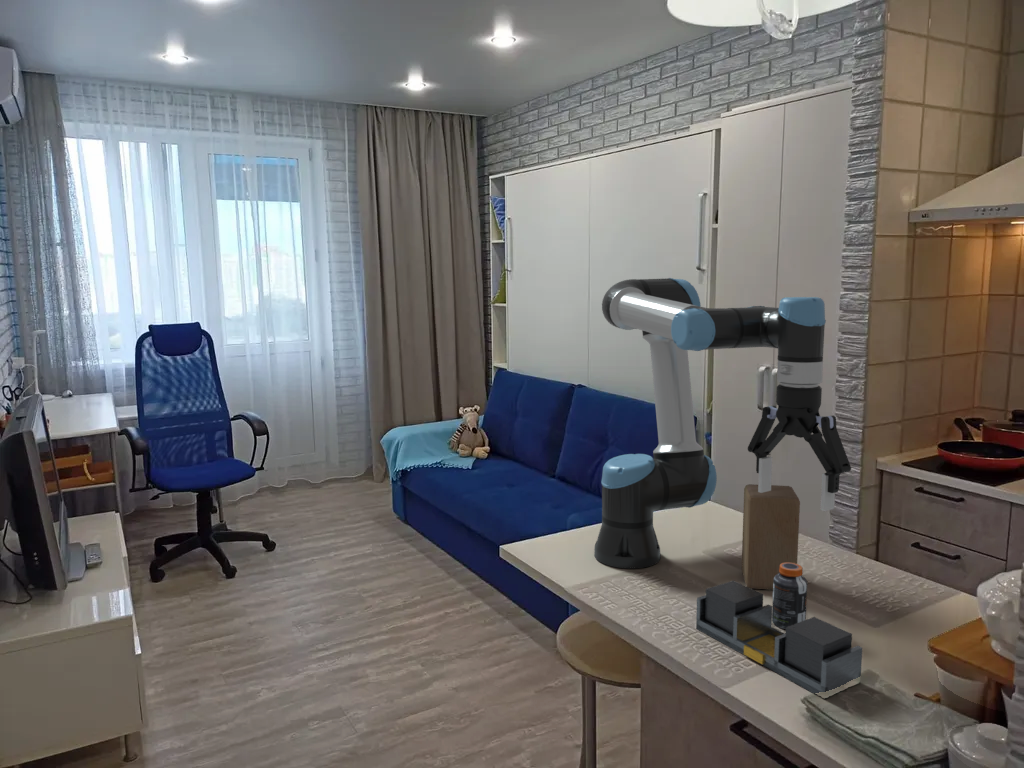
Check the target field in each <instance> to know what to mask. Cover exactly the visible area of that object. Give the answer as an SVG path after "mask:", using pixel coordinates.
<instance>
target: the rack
mask: <svg viewBox="0 0 1024 768" xmlns="http://www.w3.org/2000/svg"><path fill="white" fill-rule="evenodd" d="M772 606H773V605H771V604H764V594H763V593H761V592H760V591H758V590H755V589H754V588H749V587H747V586H746V585H744V584H742V583H740V582H737V581H735V580H731V581H728V582H725V583H724V582H723V583H721V584H718V585H715V586H711V587H708V588H706V589H705V595H703V596H702V595H701V596H699V597H697V598H696V618H695V619H696V620H695V621H696V622H695V623H696V624H695V625H696V626H695V628H696V630H698V631H699V632H702V633H703V634H705V635H706V636H708V637H710V638H712V639H714V640H715V641H718V642H719V643H721V644H723V645H724V646H726V647H728V648H730V649H732V650H734V651H736V652H738V653H739V654H741V655H743V656H745V657H747V658H748V659H750V660H752V661H754V662H756V663H758V664H759V665H762V666H763V667H765V668H767V669H769V670H770V671H772V672H774V673H776V674H777V675H779V676H781V677H783V678H784V679H786V680H788V681H790V682H792V683H794V684H795V685H797V686H799V687H800V688H803V689H805V690H806V691H808V692H809V693H812V694H813V693H819V692H826V691H829V690H832V689H835V688H837V687H840V686H841V685H844V684H846V683H847V682H849V681H851V680H853V679H856V678H858V677H860V676H861V677H862V662H863V647H862V646H859V645H857V646H853V647H852V644H853V643H852V642H853V633H851V632H849V631H847V630H844V629H842V628H840V627H838V626H835V625H833V624H831V623H829V622H826V621H824V620H822V619H821V618H817V617H815V616H813V617H811V618H806V620H804V621H802V622H799V623H796V624H794V625H791V626H788V627H786V629H785V633H784V632H781V631H780V630H778V629H776V628H774V627H772V623H773V621H772Z"/></svg>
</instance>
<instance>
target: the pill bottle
mask: <svg viewBox="0 0 1024 768" xmlns="http://www.w3.org/2000/svg"><path fill="white" fill-rule="evenodd" d="M779 572H780V573H778V574H777V575H775V577H774V580H773V590H772V605H771V606H772V623H773V625H775V626H776V627H778V628H781V629H785V630H786V627H788V626H791V625H794V624H796V623H799V622H802V621H804V620H807V604H808V603H807V602H808V601H807V600H808V581H807V579H806V578H805V577H804V576H803V573H804V572H803V566H801V564H799V563H797V564H795V563H781V564H780V568H779Z"/></svg>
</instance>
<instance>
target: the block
mask: <svg viewBox="0 0 1024 768" xmlns="http://www.w3.org/2000/svg"><path fill="white" fill-rule="evenodd" d="M800 506H801V501H800V499H799V497H798V495H797V494H796V492H795V490H794V489H793V487H792V486H790V485H777V484H776V485H775V484H771V491H767V492H763V493H760V492H758V484H755V483H754V484H747V485H745V486H744V488H743V513H742V515H743V517H742V543H741V544H742V545H741V571H742V576H743V580H744V583H745V586H747V587H749V588H751V589H754V590H755V589H757V590H759V589H760V590H772V591H773V580H774V577H775V575H777V574H778V573H780V572H779V568H780V564H781V563H795V564H798V555H799V554H798V553H799V552H798V551H799V533H800V530H799V529H800V510H801V507H800Z"/></svg>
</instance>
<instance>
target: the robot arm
mask: <svg viewBox="0 0 1024 768" xmlns="http://www.w3.org/2000/svg"><path fill="white" fill-rule="evenodd" d="M700 300H701V299H700V297H699V293H698V291H697V289H696V288H695V287H694V285H692V284H691V282H689V281H688V280H686V279H681V278H671V277H668V278H643V279H642V278H640V279H639V278H638V279H637V278H634V279H633V278H632V279H625V280H624V279H623V280H622V281H619V282H616V283H615V284H614V285H612V286H610V288H608V290H607V291H606V292H605V293H604V295H603V298H602V303H601V312H602V314H603V316H604V318H605V320H606V321H607V322H608V323H609V324H610V325H611V326H613V327H615V328H617V329H622V330H625V331H631V330H640V331H641V333H642V338H643V339H644V340H645V342H648V344H649V351H650V359H651V360H650V362H651V369H652V371H651V372H652V381H653V382H652V383H653V393H654V394H653V395H654V405H655V415H656V428H657V438H658V439H657V440H658V445H657V447H656V448H654V449H653V451H652V452H653V453H652V454H653V456H651V455H649V454H645V453H635V454H634V453H628V454H627V453H626V454H622V455H618V456H614V457H612V458H610V459H608V460H607V461H606V462H605V463H604V465H603V467H602V476H601V480H600V481H601V526H600V529H599V532H598V536H597V538H596V539H597V540H596V541H595V544H594V549H593V550H594V551H593V552H594V554H593V555H594V558H595V559H596V560H597V561H598V562H600V563H602V564H604V565H605V566H606V565H607V566H609V567H613V568H618V569H643V568H648V567H651V566H655V565H656V564H658V563H659V562H660V561H661V547H660V544H659V540H658V537H657V534H656V531H655V527H654V512H656V511H665V510H666V511H667V510H672V509H680V508H681V509H682V508H689V509H690V508H693V507H697V506H701V505H705V504H706V503H708V501H710V500H711V498H712V497H713V495H714V493H715V490H716V487H717V470H716V466H715V465H714V462H713V460H712V459H711V457H709V456H707V455H706V454H705V453H704V448H703V447H702V445H700V444H699V443H698V442H697V437H696V429H695V427H696V426H695V415H694V405H693V393H692V385H691V374H690V365H689V364H690V362H689V351H693V352H694V351H695V352H699V351H700V352H701V351H705V350H721V349H723V350H724V349H744V348H745V349H746V348H747V349H748V348H749V349H751V348H771V349H777V374H776V375H777V376H776V381H777V382H778V383H779V384H777V386H776V395H775V397H776V400H775V404H776V405H777V406H776V405H769V406H764V407H763V408H762V413H761V418H760V421H759V422H758V424H757V427H756V429H755V431H754V434H753V435H752V438H751V440H750V441H749V444H748V446H747V451H748V452H749V453H753V454H754V455H755V457H756V460H755V461H756V464H755V465H756V467H755V469H756V474H758V484H757V485H758V492H760V493H763V492H767V491H771V485H772V477H773V476H772V475H773V474H772V473H773V471H772V469H773V456H771V453H772V451H773V450H774V449H775V448H776V447H777V445H779V443H780V442H781V441H782V440H783V439H784V438H785V437H786V436H794V437H796V438H803V439H804V441H805V442H807V443H808V445H809V446H810V447H811V449H812V451H813V453H814V454H815V455H816V457H817V459H818V461H819V463H820V464H821V465H822V467H823V470H824V471H825V472H824V473H822V474H821V489H820V492H821V493H820V510H819V511H822V512H827V511H831V510H835V504H836V503H835V500H836V496H835V495H836V493H838V492H839V490H840V475H841V474H843V473H848V472H851V470H852V467H851V463H850V461H849V459H848V455H847V453H846V450H845V448H844V444H843V442H842V440H841V437H840V434H839V431H838V429H837V418H836V416H835V415H827V416H823V415H822V416H821V414H820V411H819V410H820V408H821V405H822V395H823V393H822V392H823V391H822V389H823V388H822V387H821V386H820V384H821V383H823V374H824V373H823V371H824V346H825V345H824V343H825V327H826V326H825V325H826V321H827V320H826V312H825V311H826V310H825V309H826V307H825V301H824V300H823V298H821V297H817V296H811V297H810V296H809V297H808V296H794V297H793V296H790V297H789V296H788V297H782V298H781V299H780V300H779V305H778V307H773V306H771V307H770V306H764V305H763V306H762V305H757V306H756V305H753V306H752V305H751V306H747V307H728V308H721V307H719V308H715V307H713V308H712V307H703V306H702V305H701V301H700ZM776 419H777V420H778V423H777V424H776V425H775V426H774V428H773V425H774V423H775V421H776ZM772 428H773V429H772ZM820 428H821V430H820ZM771 430H772V432H771Z"/></svg>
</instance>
